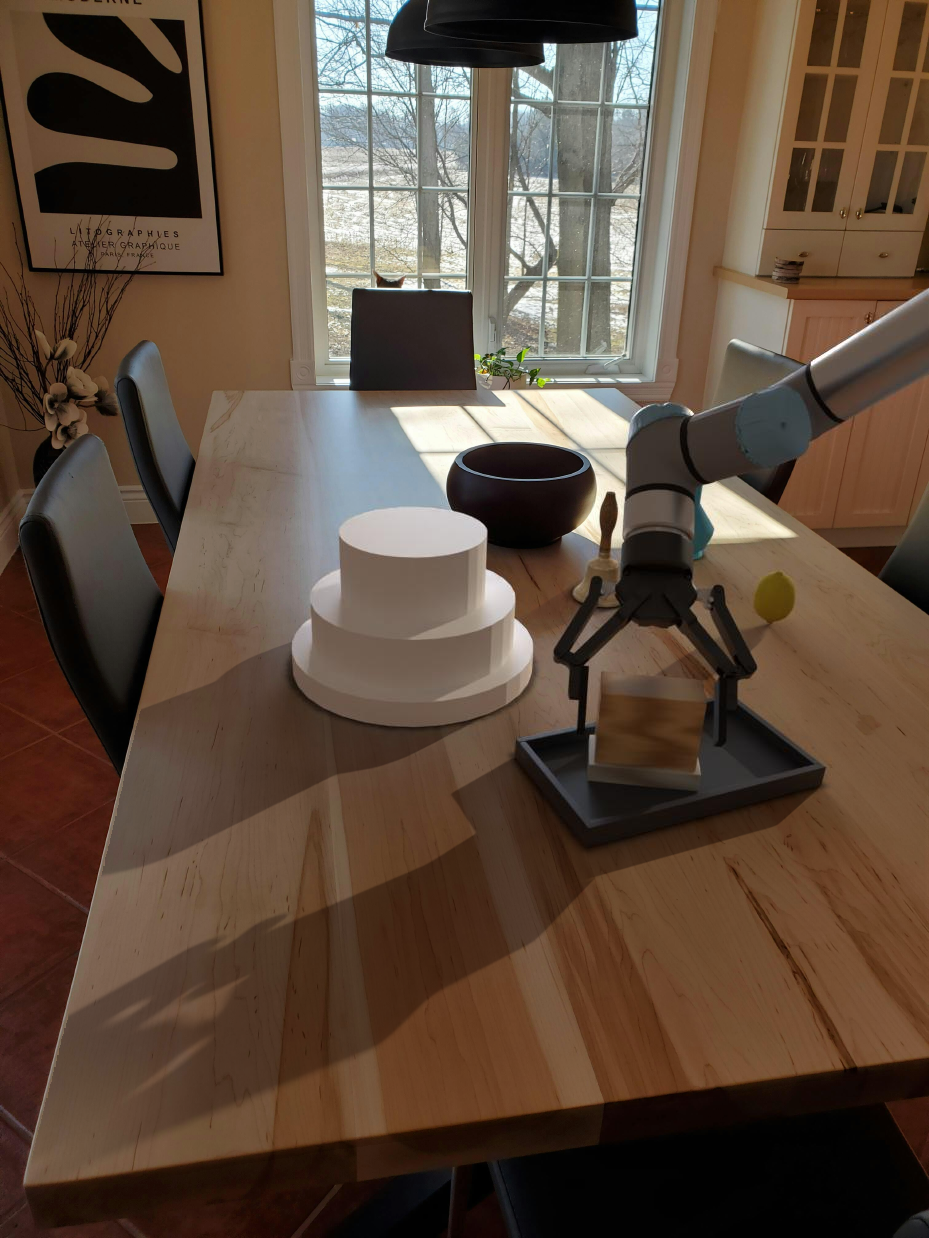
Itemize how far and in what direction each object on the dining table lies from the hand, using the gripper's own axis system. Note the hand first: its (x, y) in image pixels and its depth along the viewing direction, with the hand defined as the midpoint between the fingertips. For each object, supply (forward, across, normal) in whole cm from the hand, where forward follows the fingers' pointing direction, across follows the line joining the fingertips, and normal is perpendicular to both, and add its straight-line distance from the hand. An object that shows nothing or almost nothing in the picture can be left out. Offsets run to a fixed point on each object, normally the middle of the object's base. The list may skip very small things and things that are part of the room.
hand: (649, 738), depth 89 cm
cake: (-11, +28, -19) cm, 36 cm away
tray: (+2, -2, -6) cm, 7 cm away
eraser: (+2, 0, -5) cm, 5 cm away
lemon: (-25, -20, -34) cm, 46 cm away
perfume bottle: (-43, -10, -52) cm, 68 cm away
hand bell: (-29, +4, -37) cm, 47 cm away
